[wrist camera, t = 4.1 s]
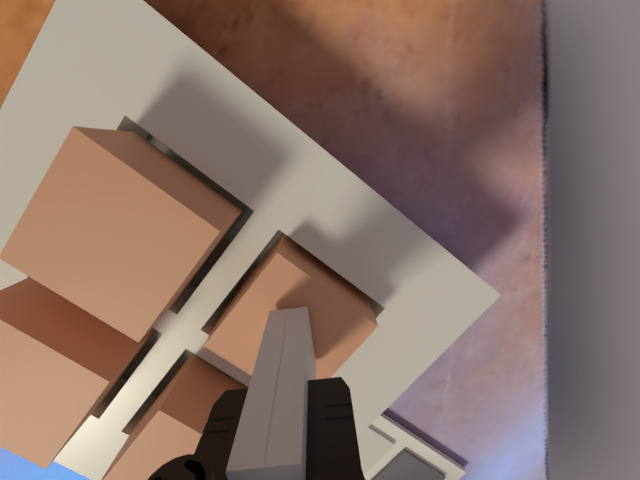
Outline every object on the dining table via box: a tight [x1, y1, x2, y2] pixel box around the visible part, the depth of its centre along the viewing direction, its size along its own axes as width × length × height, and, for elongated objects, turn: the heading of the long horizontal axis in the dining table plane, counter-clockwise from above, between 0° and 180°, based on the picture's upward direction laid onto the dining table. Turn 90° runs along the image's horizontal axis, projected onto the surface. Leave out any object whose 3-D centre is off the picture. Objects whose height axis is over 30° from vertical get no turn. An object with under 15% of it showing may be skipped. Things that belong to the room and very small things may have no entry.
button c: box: [0, 126, 242, 343], centre depth 12 cm, size 5×5×3 cm
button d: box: [0, 277, 154, 469], centre depth 13 cm, size 5×5×3 cm
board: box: [0, 0, 501, 480], centre depth 16 cm, size 20×20×4 cm
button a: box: [204, 233, 378, 379], centre depth 15 cm, size 5×5×3 cm
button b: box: [101, 354, 246, 480], centre depth 15 cm, size 5×5×3 cm
